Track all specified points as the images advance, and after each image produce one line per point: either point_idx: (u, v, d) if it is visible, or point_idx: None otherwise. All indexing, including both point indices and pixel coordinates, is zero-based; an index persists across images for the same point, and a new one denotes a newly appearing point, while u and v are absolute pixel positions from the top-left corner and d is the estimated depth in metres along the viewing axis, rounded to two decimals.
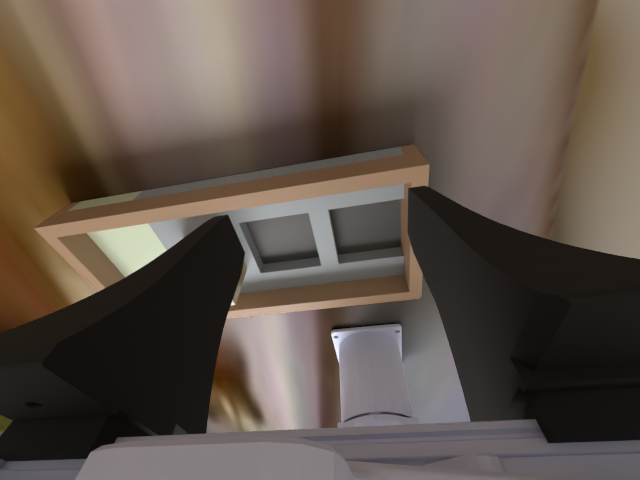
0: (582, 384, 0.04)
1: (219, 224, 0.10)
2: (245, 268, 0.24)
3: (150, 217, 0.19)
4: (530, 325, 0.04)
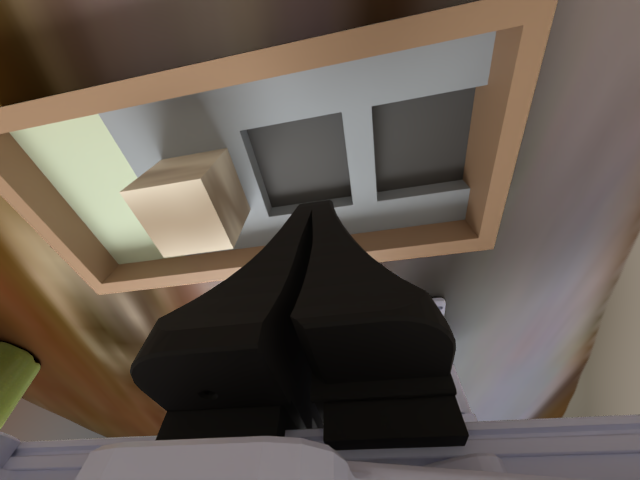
0: (357, 398, 0.05)
1: None
2: (248, 207, 0.17)
3: (103, 101, 0.12)
4: (303, 344, 0.05)
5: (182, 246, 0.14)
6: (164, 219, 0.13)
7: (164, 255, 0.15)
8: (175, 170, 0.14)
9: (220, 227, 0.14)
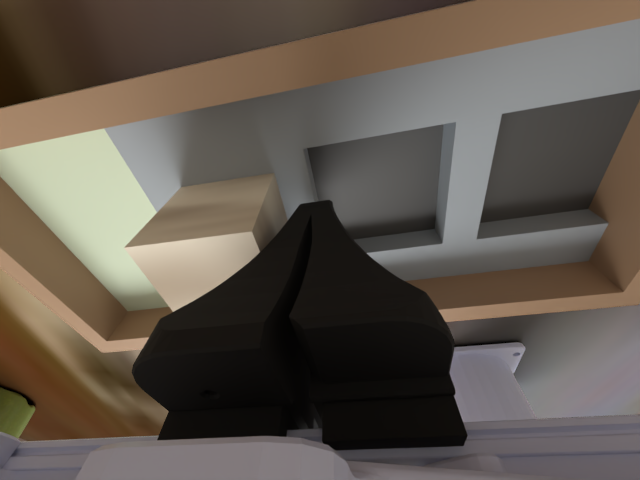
0: (356, 398, 0.05)
1: None
2: None
3: (112, 109, 0.08)
4: (301, 344, 0.05)
5: None
6: (190, 282, 0.09)
7: None
8: (206, 209, 0.09)
9: None
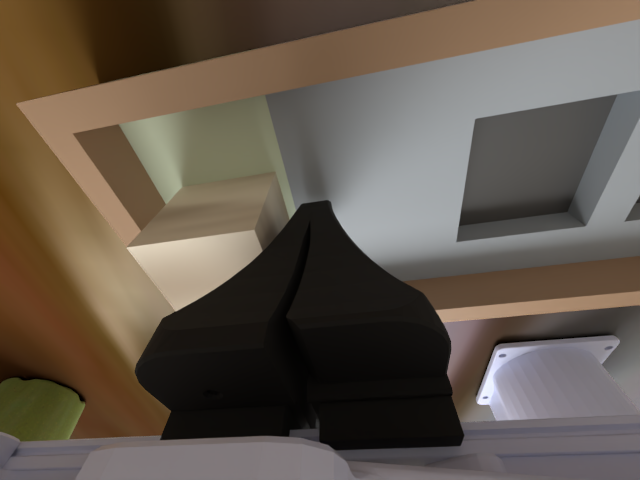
0: (353, 398, 0.05)
1: None
2: None
3: (327, 62, 0.07)
4: (298, 345, 0.05)
5: None
6: (192, 282, 0.09)
7: None
8: (208, 208, 0.09)
9: None
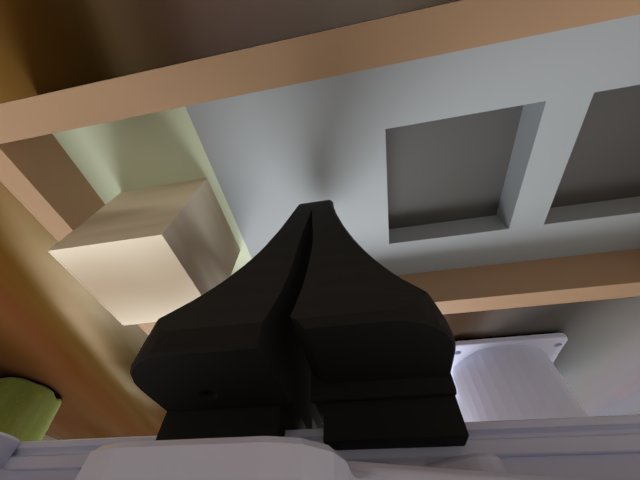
0: (357, 398, 0.05)
1: None
2: (237, 249, 0.13)
3: (219, 81, 0.08)
4: (302, 344, 0.05)
5: (145, 312, 0.11)
6: (117, 283, 0.10)
7: (123, 322, 0.11)
8: (133, 214, 0.10)
9: (195, 292, 0.10)
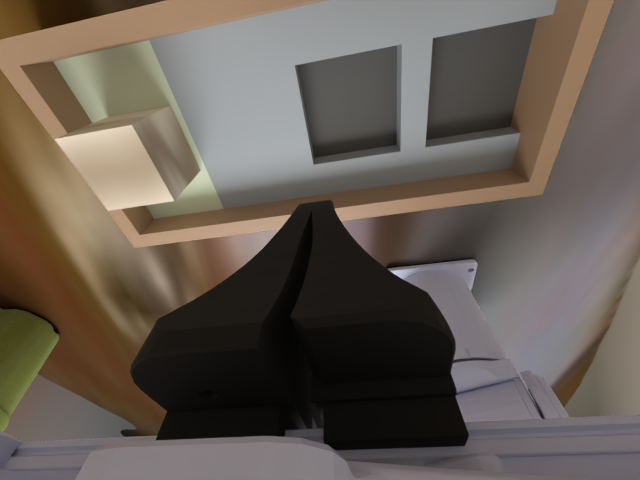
0: (357, 398, 0.05)
1: None
2: (197, 168, 0.18)
3: (167, 19, 0.12)
4: (303, 344, 0.05)
5: (124, 198, 0.15)
6: (102, 169, 0.14)
7: (108, 208, 0.15)
8: (114, 122, 0.14)
9: (158, 178, 0.14)
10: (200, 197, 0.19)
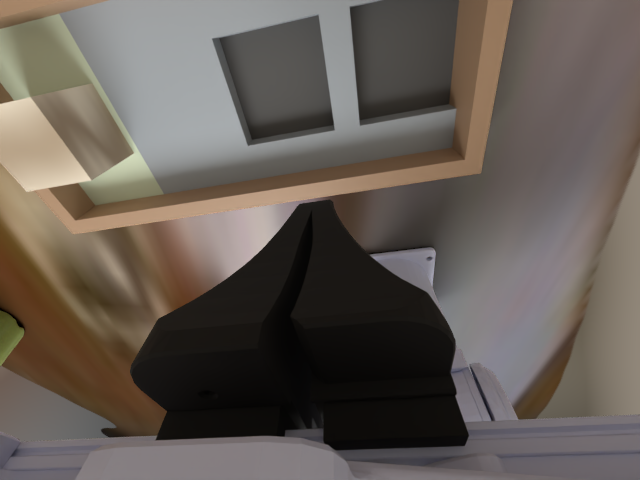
0: (357, 398, 0.05)
1: None
2: (129, 150, 0.17)
3: None
4: (303, 344, 0.05)
5: (40, 177, 0.14)
6: (11, 145, 0.13)
7: (26, 188, 0.15)
8: (25, 98, 0.14)
9: (70, 155, 0.14)
10: (138, 182, 0.19)
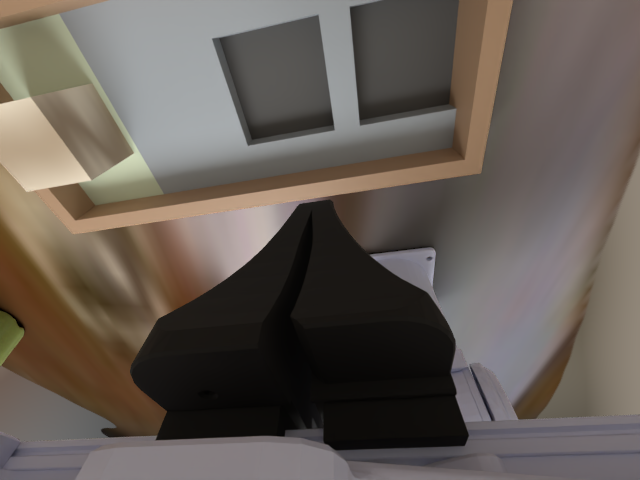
0: (357, 398, 0.05)
1: None
2: (129, 150, 0.17)
3: None
4: (303, 344, 0.05)
5: (40, 177, 0.14)
6: (11, 145, 0.13)
7: (26, 188, 0.15)
8: (25, 98, 0.14)
9: (70, 155, 0.14)
10: (138, 182, 0.19)
